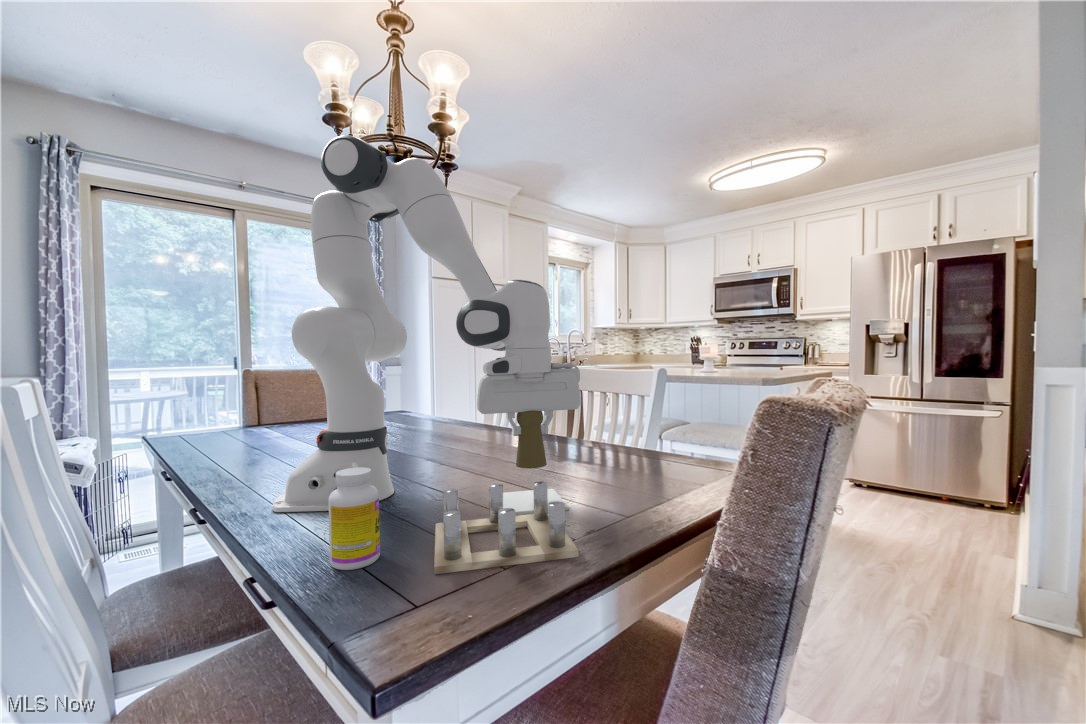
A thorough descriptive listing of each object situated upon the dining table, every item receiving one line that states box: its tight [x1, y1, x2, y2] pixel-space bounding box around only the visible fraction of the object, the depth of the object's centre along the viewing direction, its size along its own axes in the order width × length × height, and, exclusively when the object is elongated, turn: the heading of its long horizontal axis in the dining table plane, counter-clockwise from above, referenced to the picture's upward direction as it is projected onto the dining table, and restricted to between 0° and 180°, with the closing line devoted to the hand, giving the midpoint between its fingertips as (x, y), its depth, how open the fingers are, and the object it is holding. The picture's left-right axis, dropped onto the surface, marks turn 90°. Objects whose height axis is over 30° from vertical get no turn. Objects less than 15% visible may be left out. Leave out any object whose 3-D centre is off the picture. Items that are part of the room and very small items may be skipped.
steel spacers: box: [442, 481, 566, 560], centre depth 70 cm, size 17×15×6 cm
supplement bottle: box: [328, 467, 381, 571], centre depth 64 cm, size 7×7×13 cm
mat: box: [503, 488, 570, 516], centre depth 88 cm, size 12×12×1 cm
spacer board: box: [433, 513, 580, 575], centre depth 70 cm, size 20×16×1 cm
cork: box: [515, 410, 548, 469], centre depth 88 cm, size 6×6×11 cm
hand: (530, 434), depth 88 cm, fingers closed on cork, 4 cm apart
